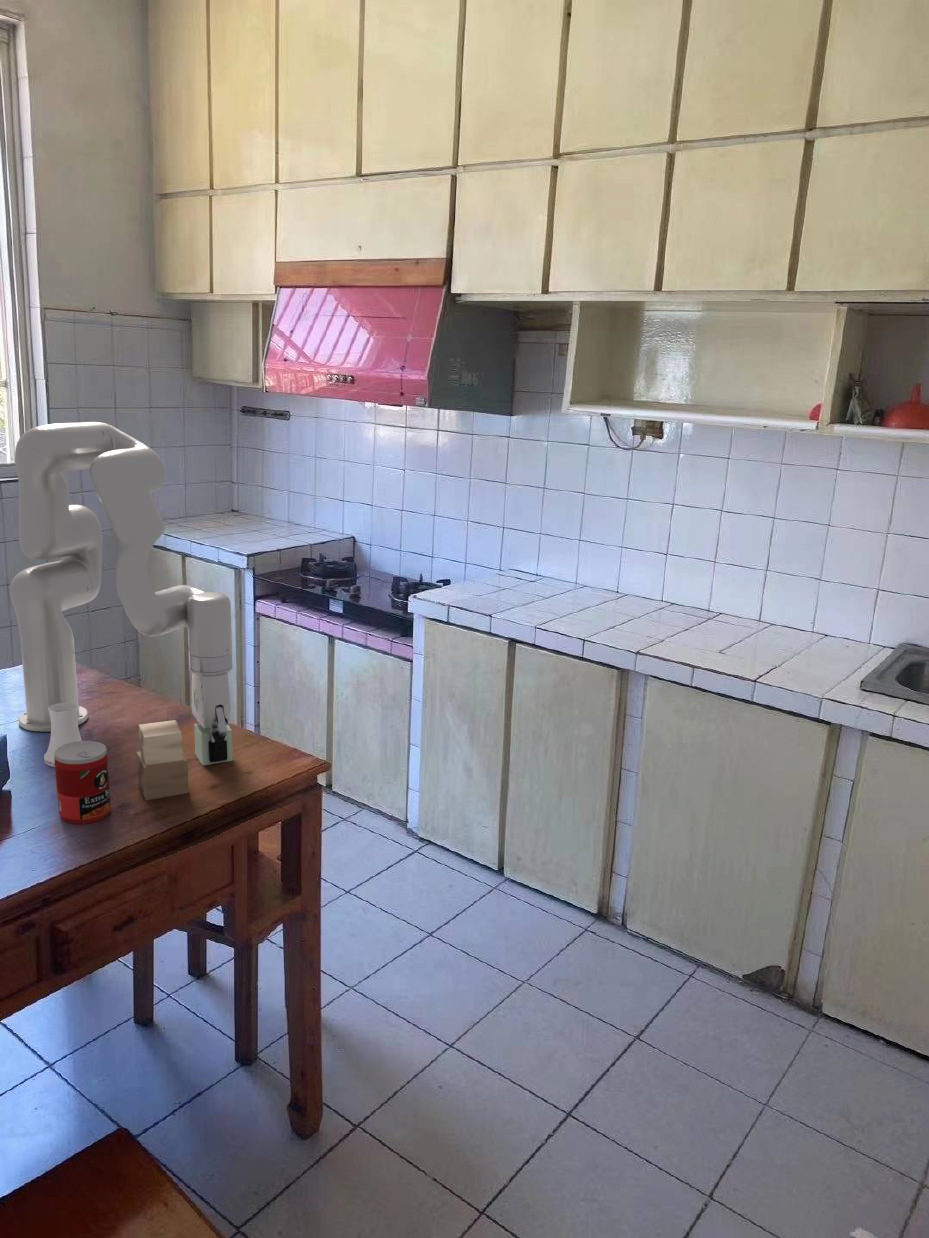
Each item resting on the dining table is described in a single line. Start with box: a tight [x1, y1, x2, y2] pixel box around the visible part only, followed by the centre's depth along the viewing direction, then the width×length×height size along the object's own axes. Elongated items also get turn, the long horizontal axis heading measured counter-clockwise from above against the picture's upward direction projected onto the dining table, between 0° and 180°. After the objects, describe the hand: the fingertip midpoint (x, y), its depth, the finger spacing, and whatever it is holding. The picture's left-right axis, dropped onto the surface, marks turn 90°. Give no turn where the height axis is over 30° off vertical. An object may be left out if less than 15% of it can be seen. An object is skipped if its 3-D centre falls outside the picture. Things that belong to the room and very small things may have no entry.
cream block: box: [135, 750, 190, 801], centre depth 157 cm, size 7×7×6 cm
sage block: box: [193, 721, 234, 766], centre depth 170 cm, size 6×6×6 cm
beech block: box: [138, 719, 184, 766], centre depth 155 cm, size 6×6×5 cm
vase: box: [43, 703, 83, 768], centre depth 166 cm, size 8×8×10 cm
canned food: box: [54, 740, 112, 825], centre depth 146 cm, size 8×8×11 cm
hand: (213, 753), depth 170 cm, fingers closed on sage block, 5 cm apart
